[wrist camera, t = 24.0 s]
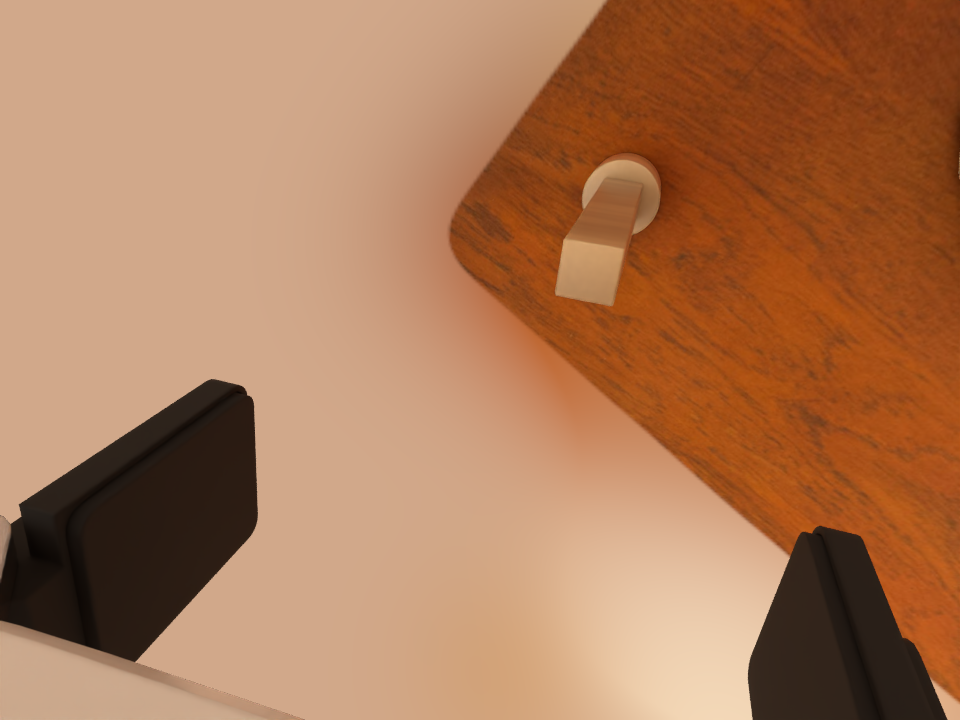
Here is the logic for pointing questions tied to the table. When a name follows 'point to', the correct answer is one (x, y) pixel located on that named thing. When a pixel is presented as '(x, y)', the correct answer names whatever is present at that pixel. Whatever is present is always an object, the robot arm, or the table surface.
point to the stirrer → (607, 227)
